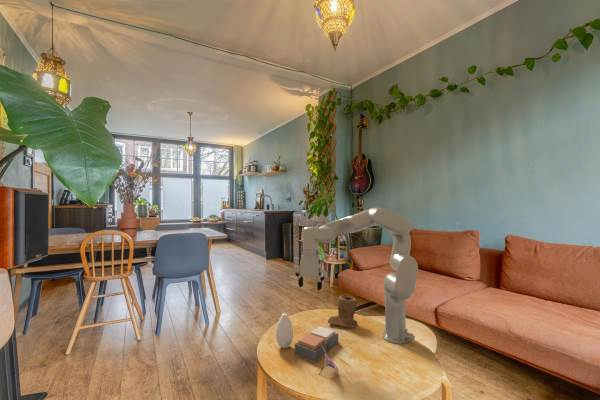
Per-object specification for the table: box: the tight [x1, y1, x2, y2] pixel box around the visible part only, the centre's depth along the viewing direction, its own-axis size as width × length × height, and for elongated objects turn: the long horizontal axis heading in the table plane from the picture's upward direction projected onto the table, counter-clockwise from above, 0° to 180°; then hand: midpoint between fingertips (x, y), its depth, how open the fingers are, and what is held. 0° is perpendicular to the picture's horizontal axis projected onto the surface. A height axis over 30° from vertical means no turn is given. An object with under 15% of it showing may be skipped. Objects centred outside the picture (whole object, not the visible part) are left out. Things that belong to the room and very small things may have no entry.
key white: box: [310, 326, 336, 341], centre depth 131 cm, size 8×8×2 cm
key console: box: [294, 332, 339, 364], centre depth 127 cm, size 11×20×4 cm, turn 144°
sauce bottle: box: [275, 308, 294, 349], centre depth 128 cm, size 8×8×18 cm
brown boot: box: [327, 295, 358, 328], centre depth 152 cm, size 15×12×15 cm
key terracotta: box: [298, 333, 324, 350], centre depth 123 cm, size 8×8×2 cm
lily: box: [318, 344, 340, 376], centre depth 109 cm, size 12×12×10 cm
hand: (310, 288), depth 133 cm, fingers open, 9 cm apart
